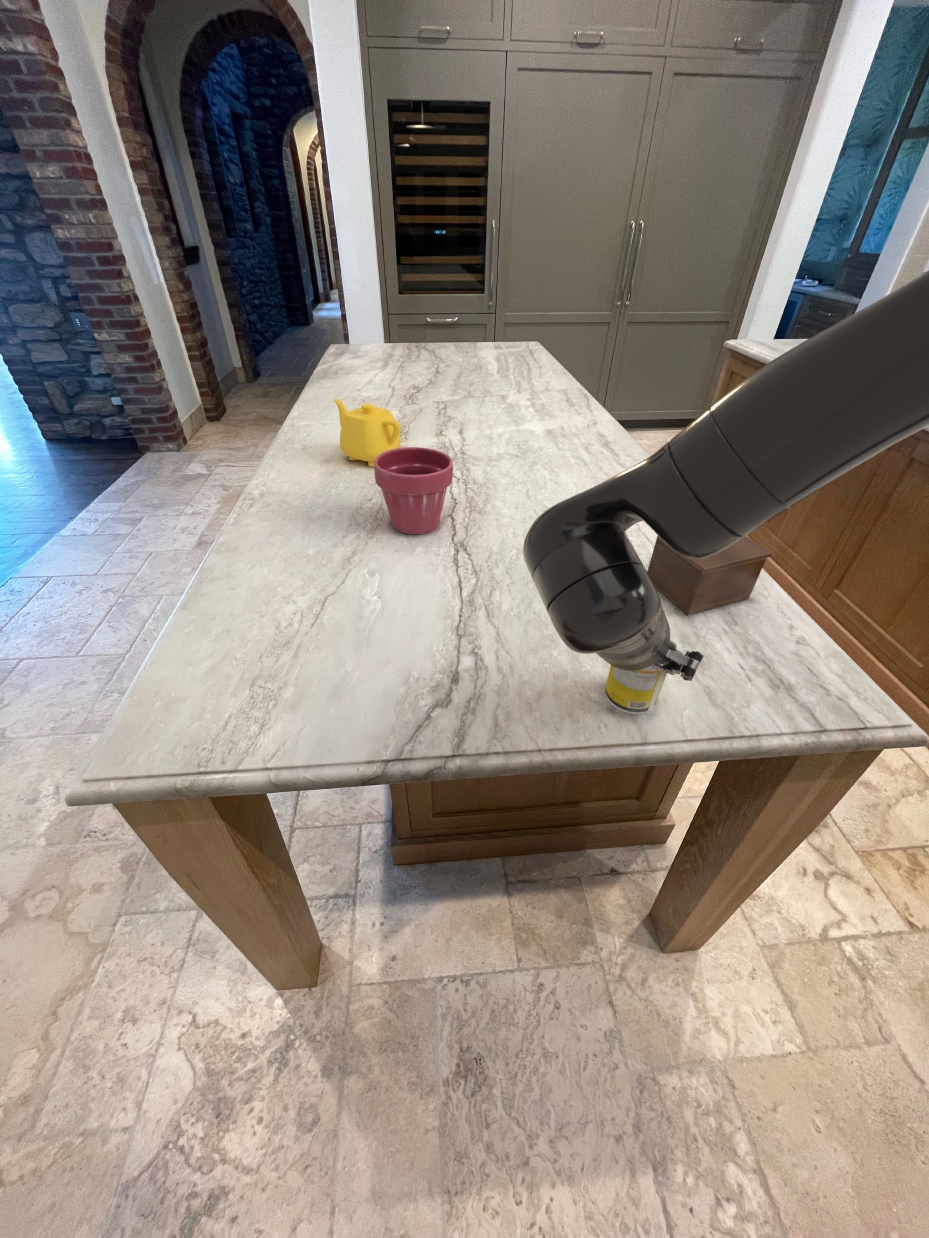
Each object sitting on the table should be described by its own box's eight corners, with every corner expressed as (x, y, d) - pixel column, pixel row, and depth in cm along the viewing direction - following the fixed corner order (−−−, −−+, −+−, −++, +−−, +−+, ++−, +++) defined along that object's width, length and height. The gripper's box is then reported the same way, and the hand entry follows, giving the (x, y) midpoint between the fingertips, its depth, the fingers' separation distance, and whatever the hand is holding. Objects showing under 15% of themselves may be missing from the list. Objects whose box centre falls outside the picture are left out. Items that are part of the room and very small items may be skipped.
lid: (720, 525, 90) (722, 521, 89) (770, 557, 82) (772, 552, 82) (656, 539, 86) (657, 534, 85) (702, 573, 78) (704, 569, 78)
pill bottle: (639, 676, 72) (660, 606, 65) (665, 711, 67) (691, 640, 60) (595, 684, 70) (611, 615, 63) (619, 721, 65) (640, 650, 58)
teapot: (357, 440, 139) (352, 390, 131) (419, 457, 131) (417, 405, 123) (320, 455, 130) (312, 403, 123) (383, 475, 122) (379, 420, 114)
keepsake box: (703, 565, 95) (717, 526, 90) (748, 599, 87) (766, 558, 82) (644, 579, 91) (656, 539, 86) (687, 615, 83) (702, 573, 78)
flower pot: (442, 503, 111) (442, 443, 103) (460, 536, 101) (461, 471, 93) (374, 511, 108) (368, 449, 100) (385, 545, 98) (379, 479, 90)
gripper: (718, 620, 48) (718, 651, 62) (575, 565, 55) (605, 604, 69) (681, 695, 48) (690, 708, 62) (542, 631, 54) (580, 656, 69)
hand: (645, 653), depth 66 cm, fingers closed on pill bottle, 6 cm apart
